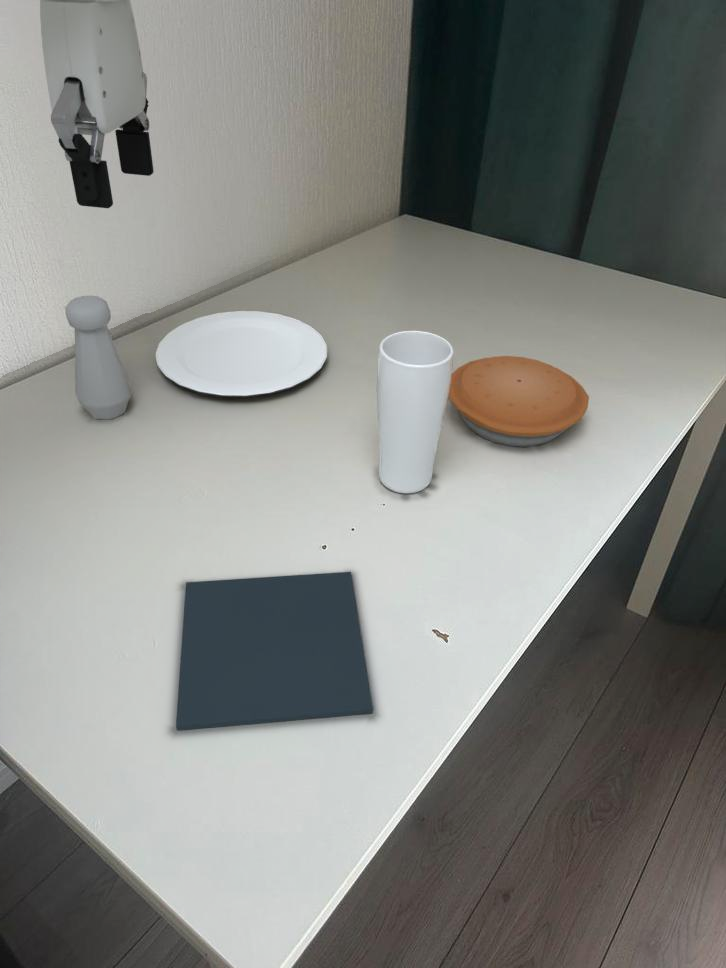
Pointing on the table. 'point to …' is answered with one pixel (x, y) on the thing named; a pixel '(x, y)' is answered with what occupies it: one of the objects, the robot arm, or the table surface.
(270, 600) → the mat
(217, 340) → the plate
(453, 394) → the pie
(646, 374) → the table surface
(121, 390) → the salt shaker
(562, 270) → the table surface
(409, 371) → the drinking glass
